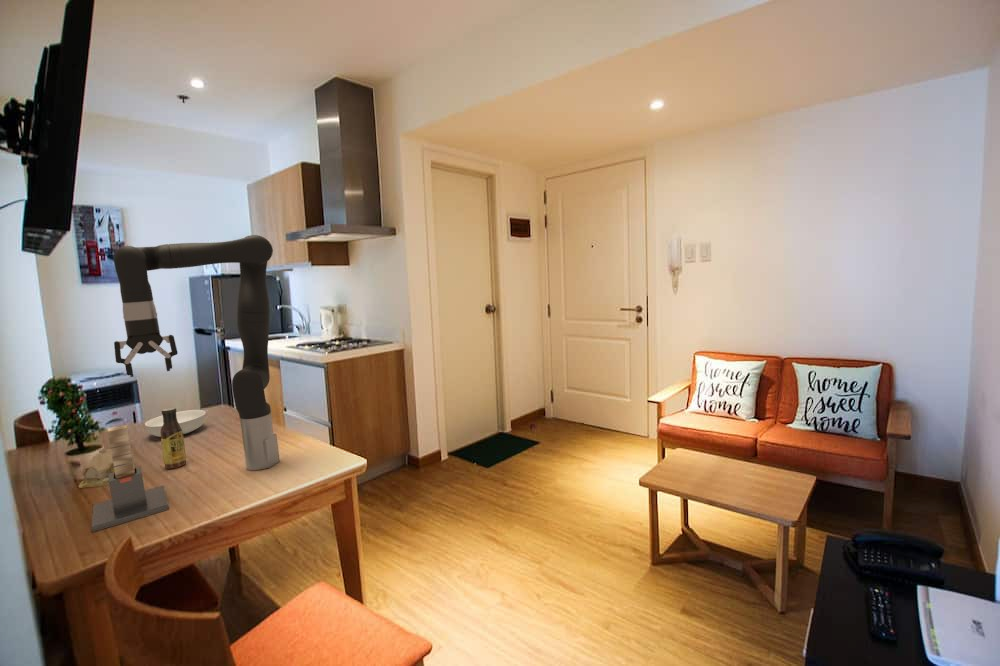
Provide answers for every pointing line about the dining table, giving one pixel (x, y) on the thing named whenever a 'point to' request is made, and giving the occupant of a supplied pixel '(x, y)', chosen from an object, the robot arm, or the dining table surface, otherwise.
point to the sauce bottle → (172, 440)
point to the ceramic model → (98, 470)
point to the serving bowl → (185, 419)
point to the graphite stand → (128, 501)
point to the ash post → (121, 451)
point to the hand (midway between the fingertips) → (150, 373)
